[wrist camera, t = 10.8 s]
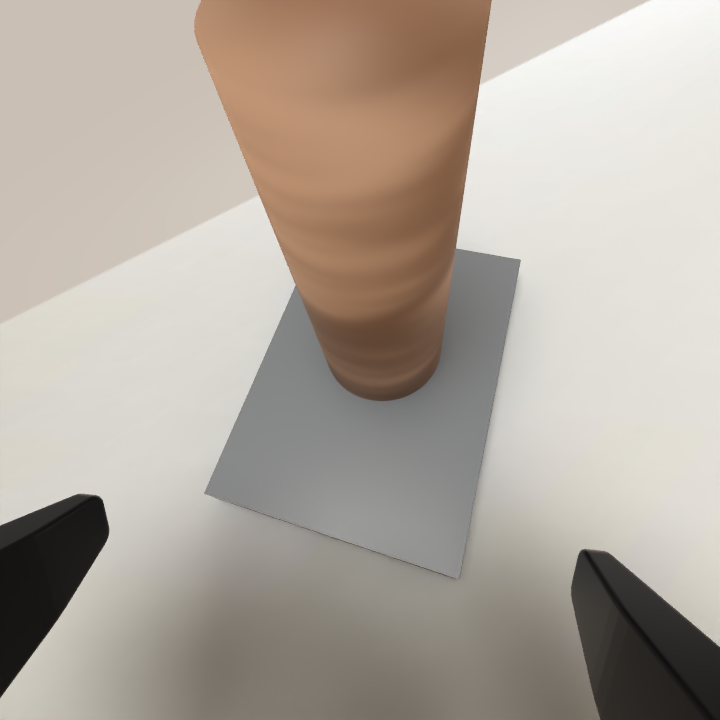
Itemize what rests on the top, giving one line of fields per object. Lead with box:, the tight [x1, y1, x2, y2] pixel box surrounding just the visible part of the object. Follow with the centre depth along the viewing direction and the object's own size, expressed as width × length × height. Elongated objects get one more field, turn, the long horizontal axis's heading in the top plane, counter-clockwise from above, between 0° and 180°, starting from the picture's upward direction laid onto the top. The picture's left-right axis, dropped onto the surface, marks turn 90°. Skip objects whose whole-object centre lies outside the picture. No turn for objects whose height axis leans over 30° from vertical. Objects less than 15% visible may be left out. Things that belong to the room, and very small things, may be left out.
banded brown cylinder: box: [194, 0, 492, 401], centre depth 13 cm, size 5×5×13 cm
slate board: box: [204, 249, 521, 579], centre depth 19 cm, size 14×10×2 cm
